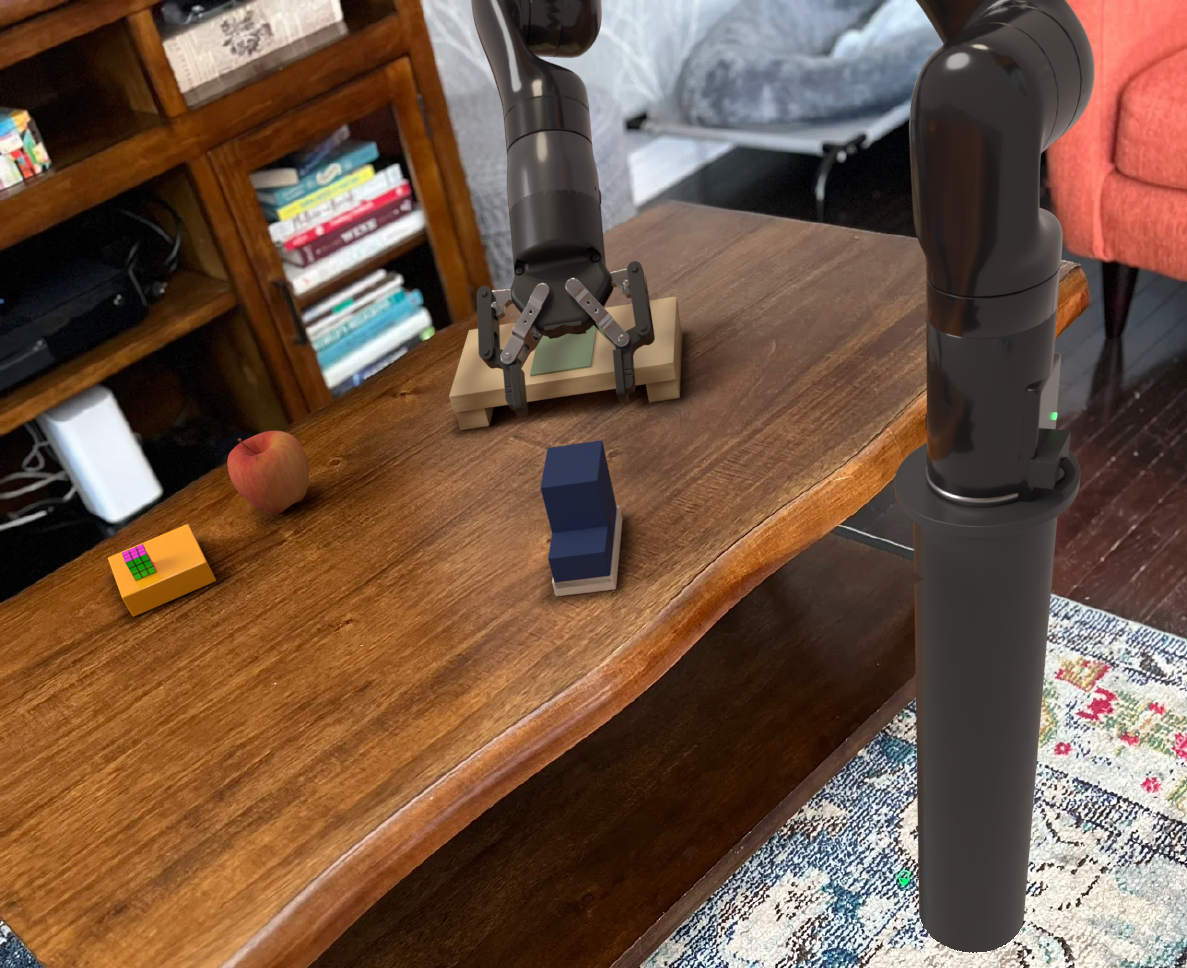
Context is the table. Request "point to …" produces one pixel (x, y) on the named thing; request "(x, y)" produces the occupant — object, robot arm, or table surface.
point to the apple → (270, 470)
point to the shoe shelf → (571, 365)
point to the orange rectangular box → (160, 570)
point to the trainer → (581, 519)
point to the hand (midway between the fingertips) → (571, 406)
